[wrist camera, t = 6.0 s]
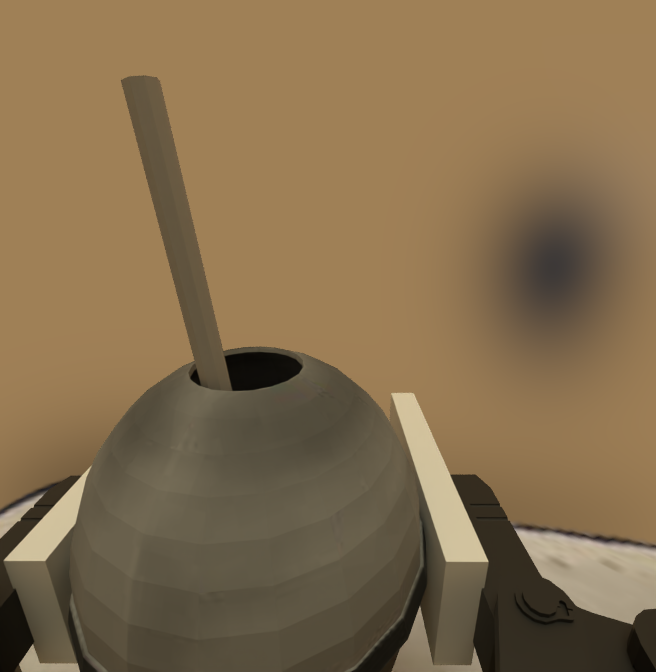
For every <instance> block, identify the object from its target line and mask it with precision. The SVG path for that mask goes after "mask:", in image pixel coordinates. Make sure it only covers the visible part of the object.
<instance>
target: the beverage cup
mask: <svg viewBox="0 0 656 672" xmlns="http://www.w3.org/2000/svg"><path fill="white" fill-rule="evenodd" d="M121 83H122V87H123V90H124V94H125V98H126V101H127V105H128V109H129V113H130V116H131V120H132V124H133V128H134V132H135V136H136V140H137V143H138V147H139V151H140V155H141V159H142V163H143V166H144V170H145V174H146V178H147V182H148V185H149V189H150V193H151V197H152V201H153V204H154V208H155V212H156V216H157V219H158V223H159V227H160V231H161V235H162V239H163V242H164V246H165V250H166V254H167V257H168V261H169V265H170V269H171V273H172V276H173V280H174V284H175V288H176V292H177V296H178V299H179V303H180V307H181V311H182V315H183V318H184V322H185V326H186V329H187V333H188V337H189V341H190V345H191V349H192V353H193V356H194V360H195V361H193V362H191V363H189V364H186V365H184V366H182V367H181V368H179V369H178V370H176V371H175V372H173V373H172V374H170V375H169V376H167V377H166V378H164V379H163V380H162V381H160V382H158V383H157V384H156V385H154V386H153V387H151V388H150V389H148V390H147V391H146V392H145V393H144V394H143V395H142V396H141V397H140V398H139V399H138V400H137V401H136V402H135V403H134V404H133V405H132V406H131V407H130V408H129V410H128V411H127V412H126V414H125V415H124V416H123V417H122V419H121V420H120V421H119V422H118V424H117V425H116V426H115V428H114V429H113V431H112V432H111V434H110V435H109V436H108V438H107V439H106V441H105V442H104V444H103V445H102V447H101V448H100V450H99V451H98V453H97V455H96V457H95V459H94V462H93V464H92V466H91V468H90V471H89V473H88V475H87V477H86V481H85V485H84V489H83V493H82V498H81V502H80V506H79V510H78V515H77V519H76V523H75V528H74V532H73V536H72V541H71V546H70V568H69V577H70V582H71V588H72V594H71V599H70V604H69V614H68V626H69V630H70V634H71V638H72V642H73V646H74V650H75V654H76V657H77V661H78V665H79V669H80V672H391V671H392V668H393V666H394V663H395V660H396V658H397V655H398V652H399V649H400V648H401V647H402V645H403V644H404V643H405V642H406V641H407V640H408V637H409V634H410V632H411V629H412V626H413V623H414V620H415V617H416V615H417V612H418V609H419V606H420V603H421V600H422V598H423V595H424V592H425V589H426V586H427V562H426V541H425V532H424V527H423V523H422V521H421V518H420V516H419V497H418V491H417V486H416V481H415V476H414V474H413V471H412V468H411V466H410V463H409V460H408V458H407V455H406V453H405V451H404V449H403V447H402V445H401V443H400V441H399V439H398V437H397V435H396V433H395V431H394V429H393V427H392V425H391V423H390V422H389V420H388V418H387V417H386V415H385V413H384V412H383V410H382V409H381V408H380V407H379V406H378V404H377V403H376V402H375V401H374V400H373V399H372V398H371V397H370V396H369V394H368V393H367V392H365V391H364V390H363V389H362V388H361V387H359V386H358V385H357V384H356V383H355V382H353V381H352V380H351V379H350V378H348V377H347V376H346V375H344V374H343V373H342V372H341V371H339V370H338V369H337V368H335V367H333V366H331V365H329V364H326V363H324V362H322V361H320V360H318V359H315V358H313V357H311V356H308V355H306V354H304V353H299V352H293V351H289V350H284V349H278V348H271V347H243V348H237V349H230V350H226V351H223V349H222V344H221V340H220V336H219V332H218V327H217V323H216V319H215V315H214V310H213V306H212V302H211V298H210V293H209V289H208V285H207V280H206V276H205V272H204V267H203V263H202V259H201V255H200V250H199V247H198V242H197V238H196V233H195V229H194V225H193V220H192V217H191V212H190V208H189V203H188V199H187V195H186V191H185V186H184V182H183V178H182V173H181V169H180V165H179V161H178V156H177V152H176V148H175V144H174V139H173V135H172V131H171V126H170V122H169V118H168V114H167V109H166V105H165V101H164V96H163V92H162V88H161V84H160V81H159V80H158V78H157V77H150V76H131V77H127V78H124V79H123V80H121Z"/></svg>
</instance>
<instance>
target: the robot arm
mask: <svg viewBox="0 0 656 672" xmlns="http://www.w3.org/2000/svg"><path fill="white" fill-rule="evenodd" d="M390 423H391V425H392V427H393V429H394V431H395V433H396V435H397V437H398V439H399V441H400V443H401V445H402V447H403V449H404V451H405V453H406V455H407V458H408V460H409V463H410V466H411V468H412V471H413V474H414V476H415V481H416V486H417V491H418V497H419V516H420V518H421V521H422V523H423V527H424V532H425V541H426V562H427V586H426V589H425V592H424V595H423V598H422V600H421V603H420V607H421V612H422V616H423V620H424V625H425V629H426V634H427V638H428V643H429V647H430V652H431V656H432V660H433V665H471V663H472V657H473V651H474V646H475V649H476V653H477V656H478V659H479V662H480V665H481V668H482V671H483V672H656V609H647V610H643V611H642V612H641V613H639V614H638V615H637V616H636V618H635V620H634V623H633V625H631V624H628V623H625V622H621V621H618V620H615V619H611V618H608V617H604V616H601V615H598V614H594V613H592V612H589V611H586V610H584V609H581V608H579V607H577V606H575V604H574V603H573V602H572V600H571V599H570V598H569V597H568V596H567V595H566V593H565V592H564V591H563V590H561V589H560V588H559V587H557V586H556V585H555V584H553V583H552V582H551V581H549V580H547V579H545V578H542V576H541V575H540V573H539V572H538V570H537V568H536V566H535V565H534V563H533V561H532V559H531V558H530V556H529V554H528V552H527V551H526V549H525V547H524V545H523V544H522V542H521V540H520V538H519V537H518V535H517V533H516V531H515V530H514V528H513V526H512V524H511V523H510V521H508V519H507V516H506V514H505V512H504V510H503V509H502V507H500V503H499V502H498V500H497V498H496V497H495V495H494V493H493V491H492V489H491V488H490V487H489V486H488V485H487V484H485V483H484V482H483V481H482V480H481V479H480V478H479V477H478V476H476V475H450V474H449V472H448V470H447V467H446V465H445V463H444V461H443V459H442V456H441V454H440V452H439V449H438V447H437V445H436V443H435V440H434V438H433V436H432V434H431V431H430V429H429V427H428V425H427V422H426V420H425V418H424V416H423V414H422V411H421V409H420V407H419V404H418V402H417V400H416V398H415V395H414V394H413V393H391V407H390ZM90 468H91V467H90ZM90 468H89V469H88V470H87V471H86V472H85V473H84V474H83V475H82V476H70V477H68V478H66V479H65V480H63V481H62V482H60V483H59V484H57V485H56V486H54V487H52V488H51V489H49V490H48V491H47V492H46V493H45V494H44V495H43V496H42V498H41V499H40V500H39V501H38V502H37V503H36V504H35V505H34V508H31V509H30V510H29V511H28V512H27V513H26V514H25V515H24V516H23V517H22V518H21V521H18V522H17V523H16V524H15V525H14V526H13V527H12V528H11V529H10V530H9V531H8V532H7V533H6V534H5V535H4V536H3V537H2V538H1V539H0V672H22V671H21V669H20V666H19V663H20V662H21V660H22V659H23V658H24V656H25V655H26V653H27V652H28V650H29V649H30V647H31V646H32V644H33V645H34V648H35V650H36V653H37V656H38V659H39V661H40V663H78V661H77V657H76V654H75V650H74V646H73V642H72V638H71V634H70V630H69V626H68V614H69V604H70V599H71V594H72V588H71V582H70V577H69V568H70V546H71V541H72V536H73V532H74V528H75V523H76V519H77V515H78V510H79V506H80V502H81V498H82V493H83V489H84V485H85V481H86V477H87V475H88V473H89V471H90Z"/></svg>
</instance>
